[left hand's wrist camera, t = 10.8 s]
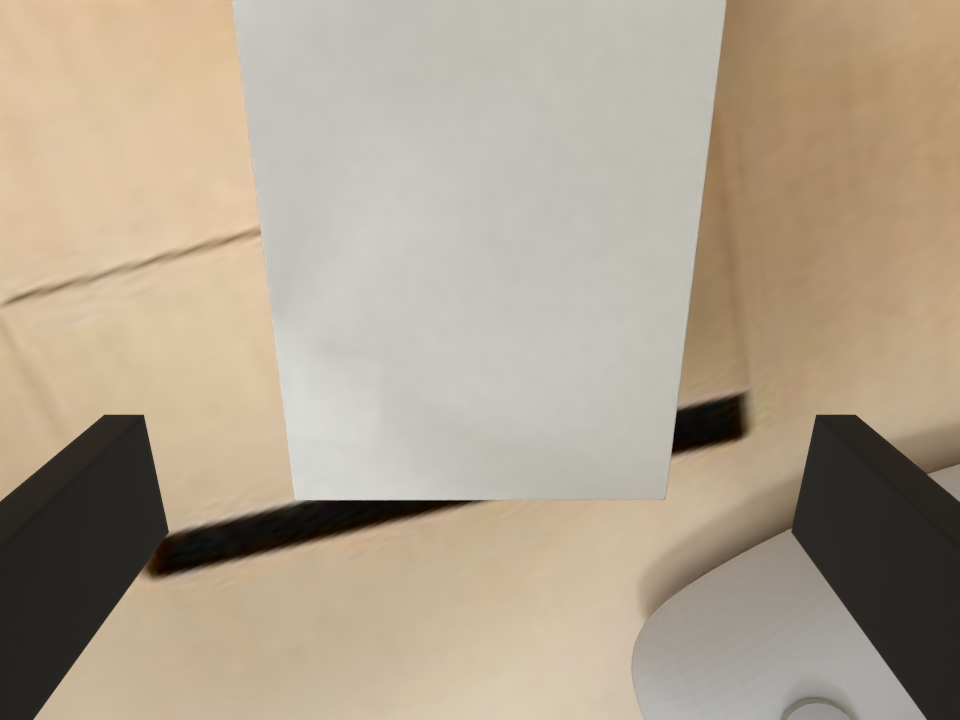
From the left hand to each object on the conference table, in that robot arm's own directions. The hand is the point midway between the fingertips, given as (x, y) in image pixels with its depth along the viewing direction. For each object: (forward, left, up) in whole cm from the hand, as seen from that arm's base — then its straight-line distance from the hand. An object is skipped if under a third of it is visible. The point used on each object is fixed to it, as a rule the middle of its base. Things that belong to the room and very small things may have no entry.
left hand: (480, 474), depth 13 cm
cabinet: (+4, +2, -17) cm, 17 cm away
